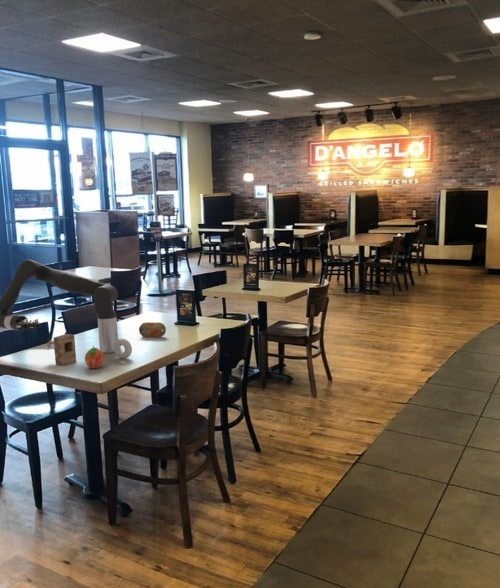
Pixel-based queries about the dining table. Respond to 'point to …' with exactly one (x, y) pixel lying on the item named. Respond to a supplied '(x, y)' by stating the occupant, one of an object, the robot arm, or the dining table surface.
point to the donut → (126, 345)
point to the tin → (152, 329)
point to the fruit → (94, 358)
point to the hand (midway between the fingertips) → (39, 325)
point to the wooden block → (61, 354)
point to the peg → (51, 345)
